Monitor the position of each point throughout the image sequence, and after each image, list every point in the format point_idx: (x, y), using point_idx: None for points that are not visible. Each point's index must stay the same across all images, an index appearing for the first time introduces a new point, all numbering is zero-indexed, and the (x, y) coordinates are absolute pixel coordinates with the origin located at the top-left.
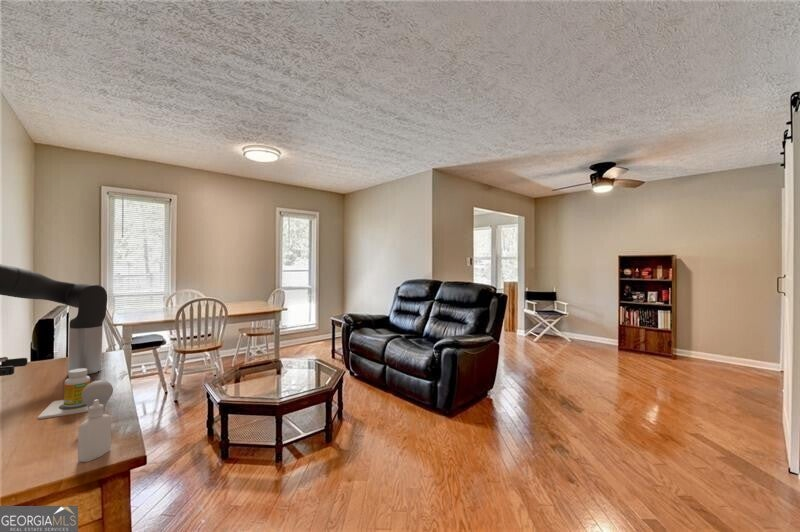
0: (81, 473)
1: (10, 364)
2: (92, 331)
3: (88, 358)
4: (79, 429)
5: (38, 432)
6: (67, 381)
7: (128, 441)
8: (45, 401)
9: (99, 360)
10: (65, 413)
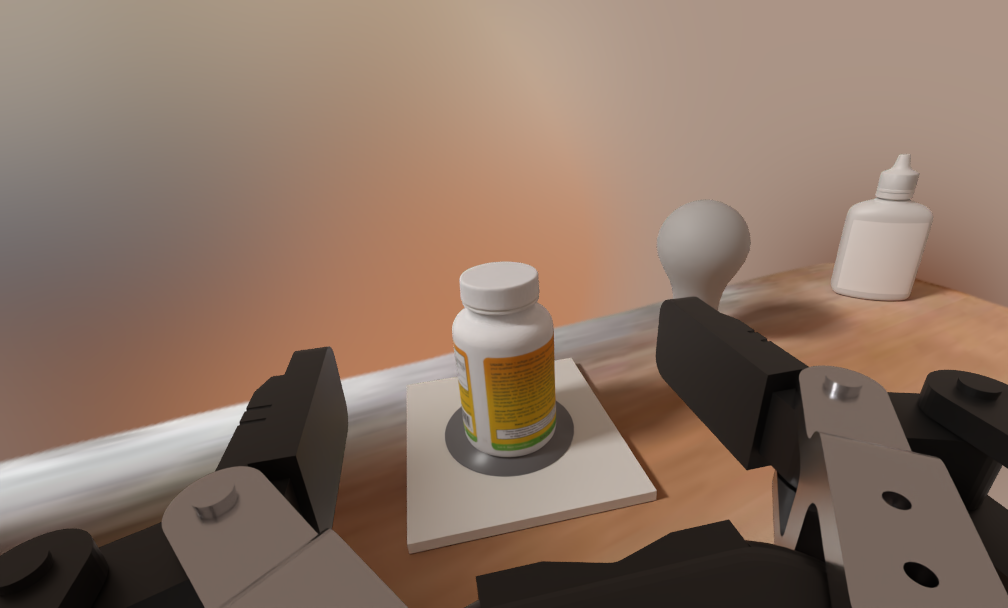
0: (940, 285)
1: (322, 492)
2: None
3: None
4: (932, 221)
5: None
6: (541, 327)
7: (785, 279)
8: None
9: None
10: (613, 424)
